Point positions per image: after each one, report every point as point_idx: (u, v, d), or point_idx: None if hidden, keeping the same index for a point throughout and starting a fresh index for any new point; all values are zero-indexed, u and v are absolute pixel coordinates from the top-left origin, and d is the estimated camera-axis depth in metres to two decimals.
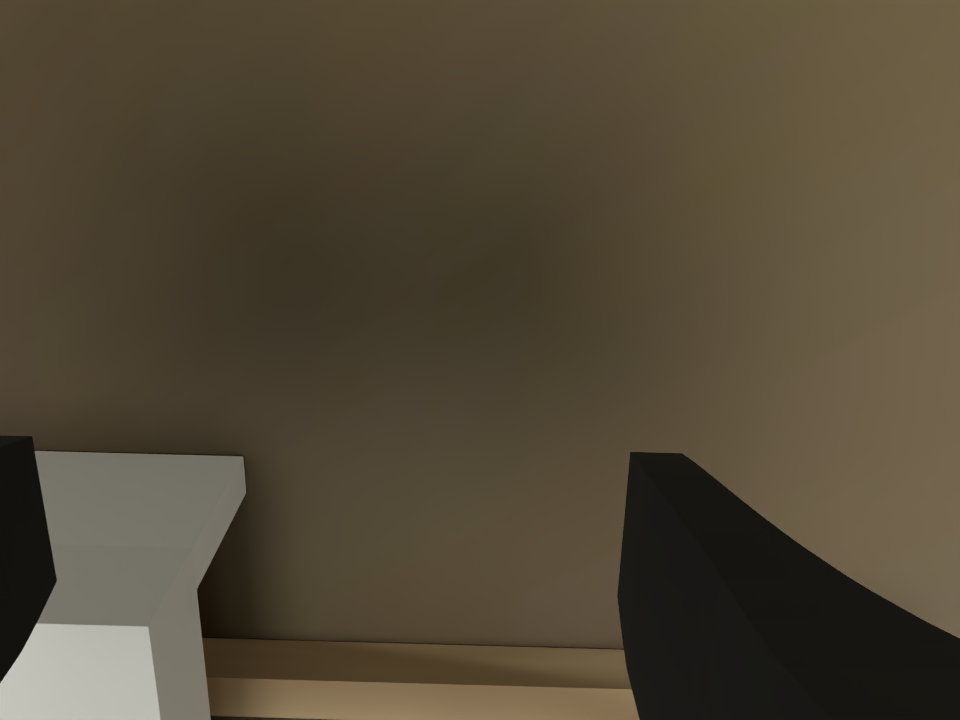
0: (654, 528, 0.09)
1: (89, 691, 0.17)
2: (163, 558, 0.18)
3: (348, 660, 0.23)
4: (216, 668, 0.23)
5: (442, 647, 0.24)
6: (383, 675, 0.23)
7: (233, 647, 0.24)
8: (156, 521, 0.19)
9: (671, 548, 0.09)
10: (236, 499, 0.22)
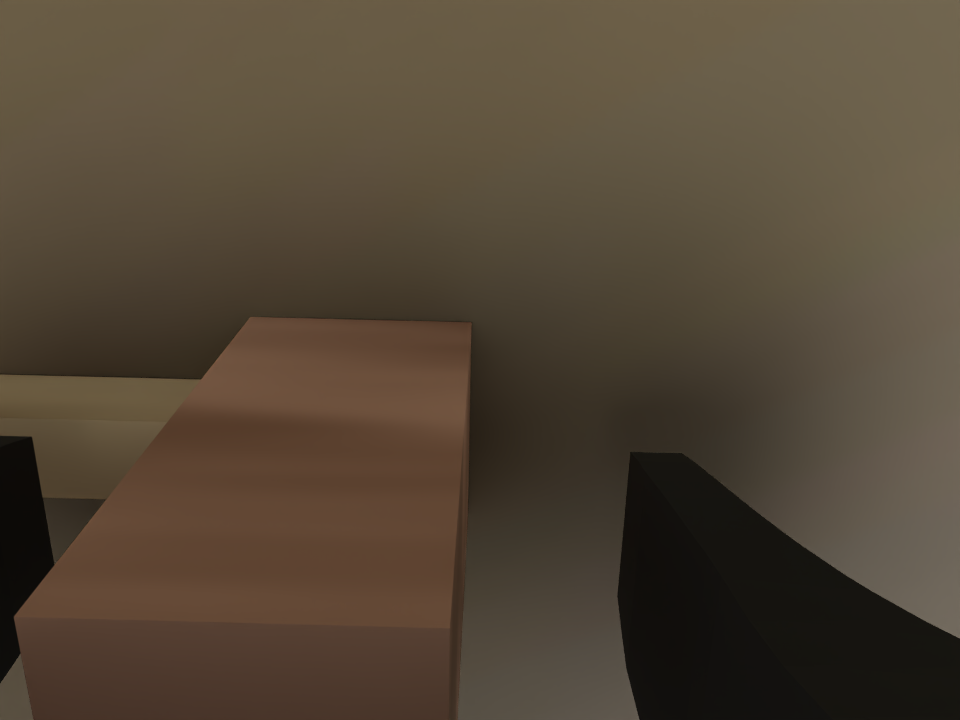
0: (654, 528, 0.09)
1: None
2: None
3: None
4: None
5: None
6: None
7: None
8: None
9: (671, 548, 0.09)
10: None
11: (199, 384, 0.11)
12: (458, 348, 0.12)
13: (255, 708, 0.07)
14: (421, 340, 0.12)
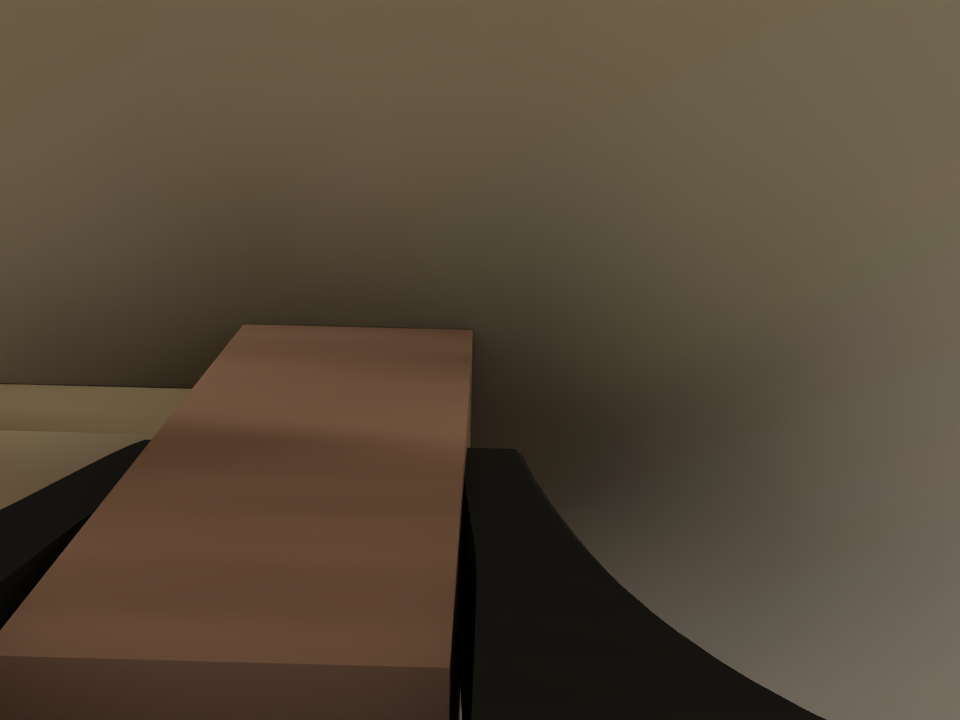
0: (464, 523, 0.09)
1: None
2: None
3: None
4: None
5: None
6: None
7: None
8: None
9: (467, 542, 0.09)
10: None
11: (188, 396, 0.10)
12: (458, 357, 0.12)
13: None
14: (420, 349, 0.12)
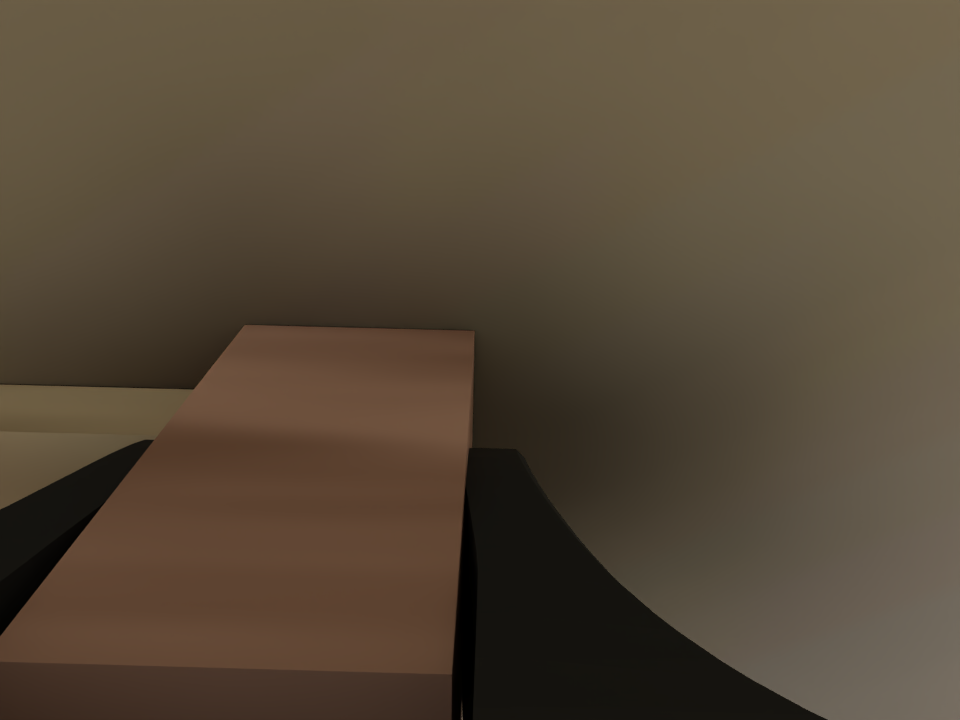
0: None
1: None
2: None
3: None
4: None
5: None
6: None
7: None
8: None
9: (468, 542, 0.09)
10: None
11: (189, 398, 0.10)
12: (461, 359, 0.12)
13: None
14: (422, 350, 0.12)
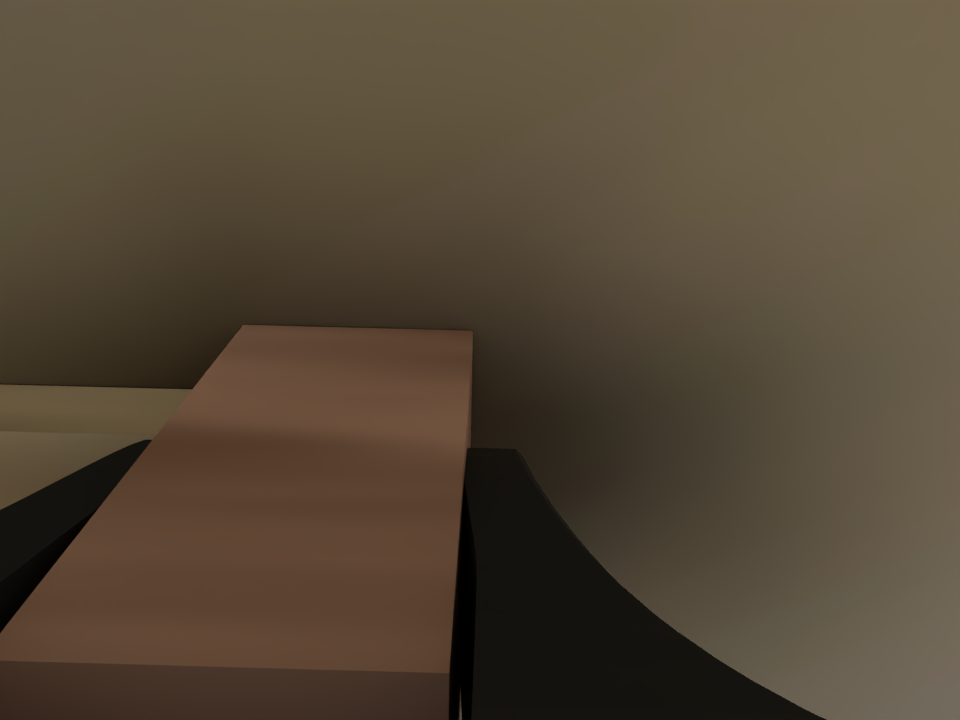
0: (464, 523, 0.09)
1: None
2: None
3: None
4: None
5: None
6: None
7: None
8: None
9: (467, 542, 0.09)
10: None
11: (188, 398, 0.10)
12: (458, 359, 0.12)
13: None
14: (420, 350, 0.12)
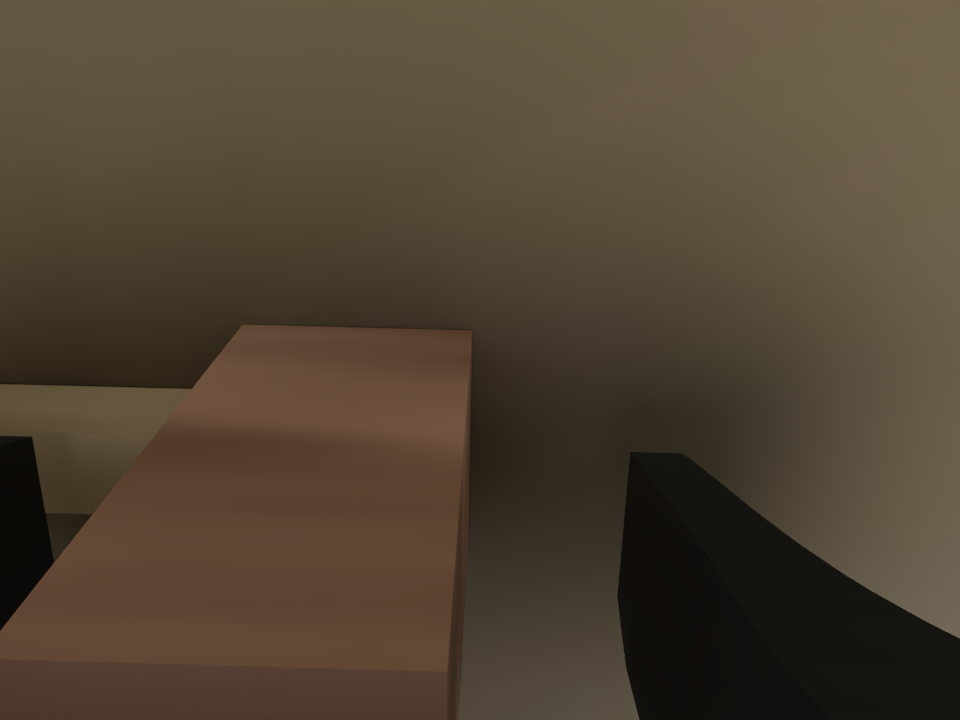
0: (654, 528, 0.09)
1: None
2: None
3: None
4: None
5: None
6: None
7: None
8: None
9: (671, 548, 0.09)
10: None
11: (187, 397, 0.10)
12: (458, 359, 0.12)
13: None
14: (419, 349, 0.12)
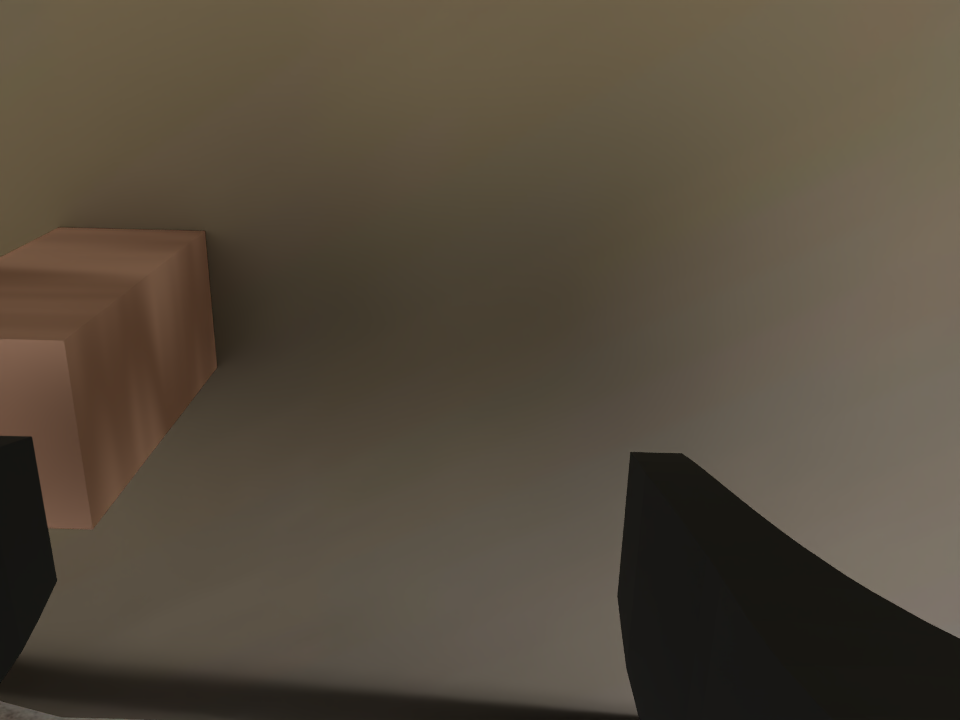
0: (654, 528, 0.09)
1: None
2: None
3: None
4: None
5: None
6: None
7: None
8: None
9: (671, 548, 0.09)
10: None
11: (1, 257, 0.18)
12: (181, 242, 0.19)
13: None
14: (162, 239, 0.19)
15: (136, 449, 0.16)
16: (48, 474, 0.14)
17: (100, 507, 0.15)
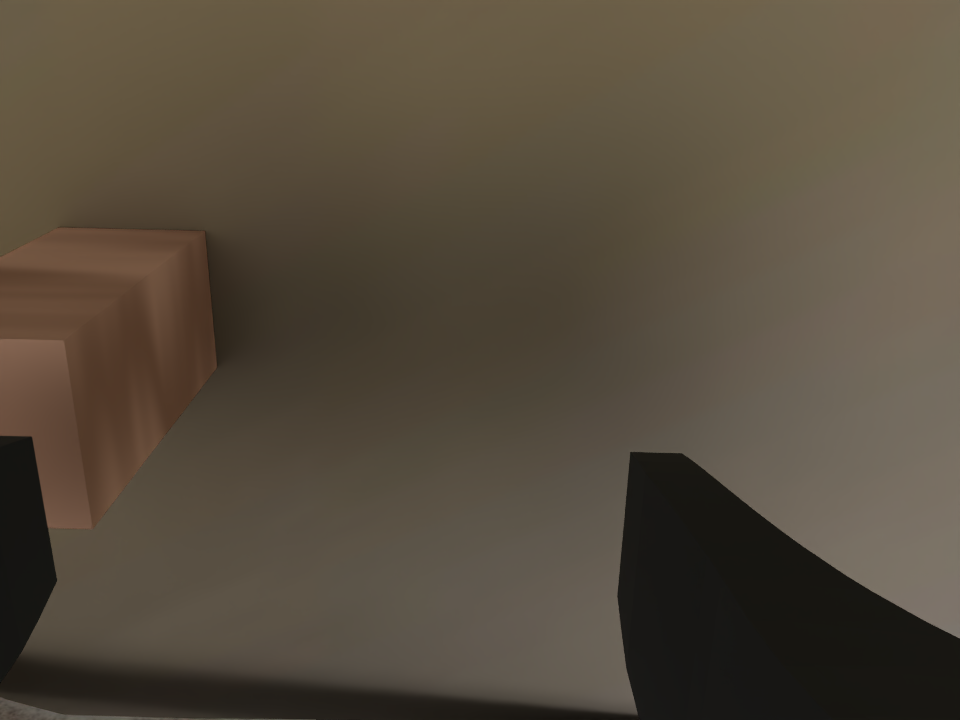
0: (654, 528, 0.09)
1: None
2: None
3: None
4: None
5: None
6: None
7: None
8: None
9: (671, 548, 0.09)
10: None
11: (1, 257, 0.18)
12: (181, 242, 0.19)
13: None
14: (161, 239, 0.19)
15: (136, 449, 0.16)
16: (48, 474, 0.14)
17: (100, 507, 0.15)
